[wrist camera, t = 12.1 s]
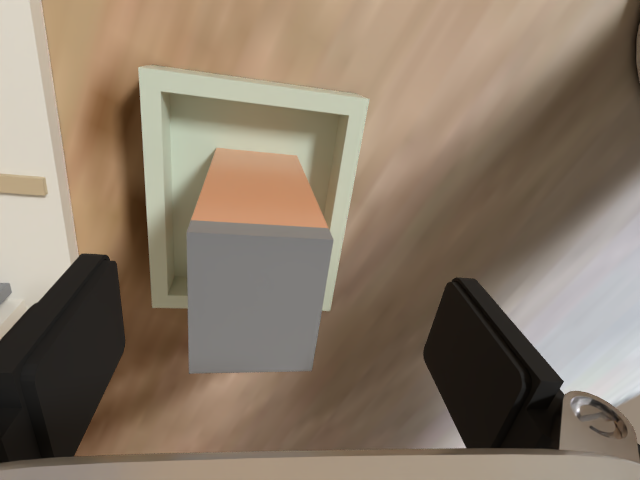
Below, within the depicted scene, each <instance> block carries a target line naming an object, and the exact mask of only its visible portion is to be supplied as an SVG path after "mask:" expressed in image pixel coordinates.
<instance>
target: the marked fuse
mask: <svg viewBox="0 0 640 480" xmlns="http://www.w3.org/2000/svg"><path fill="white" fill-rule="evenodd" d="M333 241H334V239H333V237H332V235H331V232H330V230H329V228H328V226H327V223H326V221H325V219H324V216H323V214H322V212H321V210H320V207H319V205H318V203H317V200H316V198H315V196H314V193H313V191H312V189H311V187H310V184H309V182H308V180H307V177H306V175H305V173H304V170H303V168H302V166H301V164H300V161H299V159H298V157H297V155H287V154H277V153H266V152H256V151H246V150H235V149H225V148H216V150H215V153H214V156H213V159H212V162H211V164H210V167H209V170H208V173H207V176H206V179H205V181H204V184H203V187H202V190H201V193H200V196H199V198H198V201H197V204H196V207H195V210H194V213H193V215H192V218H191V221H190V224H189V227H188V230H187V288H188V347H189V374H190V373H240V372H290V371H312V367H313V361H314V355H315V349H316V343H317V337H318V331H319V325H320V319H321V313H322V307H323V301H324V295H325V289H326V283H327V277H328V271H329V265H330V259H331V253H332V247H333Z"/></svg>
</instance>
